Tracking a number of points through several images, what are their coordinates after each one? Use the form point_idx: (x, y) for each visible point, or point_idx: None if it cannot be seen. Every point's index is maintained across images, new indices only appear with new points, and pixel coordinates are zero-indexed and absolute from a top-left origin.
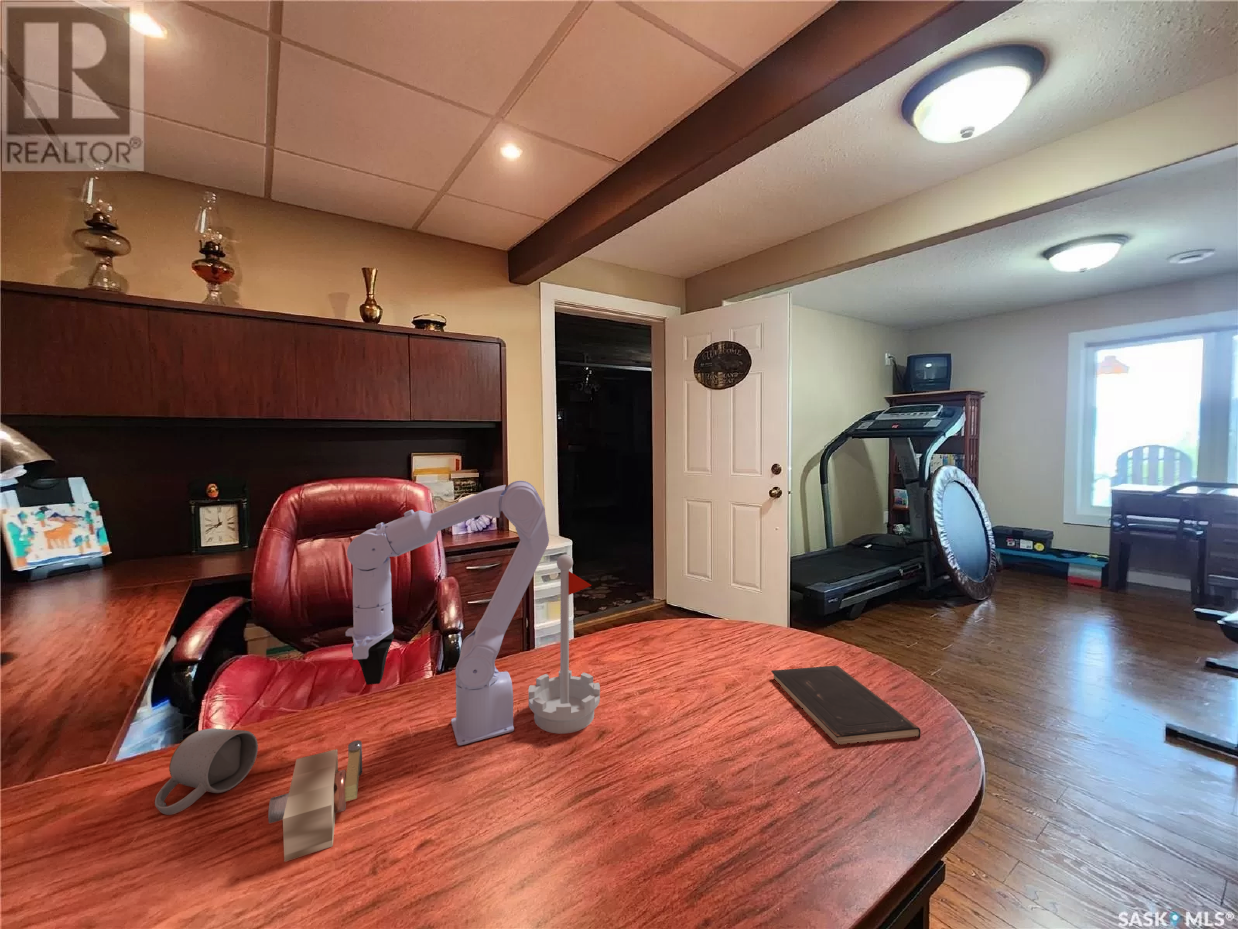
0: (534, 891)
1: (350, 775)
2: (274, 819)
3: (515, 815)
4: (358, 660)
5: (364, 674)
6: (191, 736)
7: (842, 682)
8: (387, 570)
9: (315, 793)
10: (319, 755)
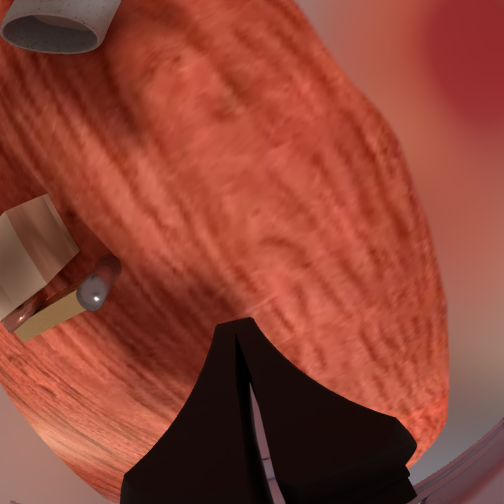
0: (59, 445)
1: (30, 326)
2: None
3: (110, 443)
4: (167, 431)
5: (209, 357)
6: None
7: None
8: None
9: None
10: (21, 257)
